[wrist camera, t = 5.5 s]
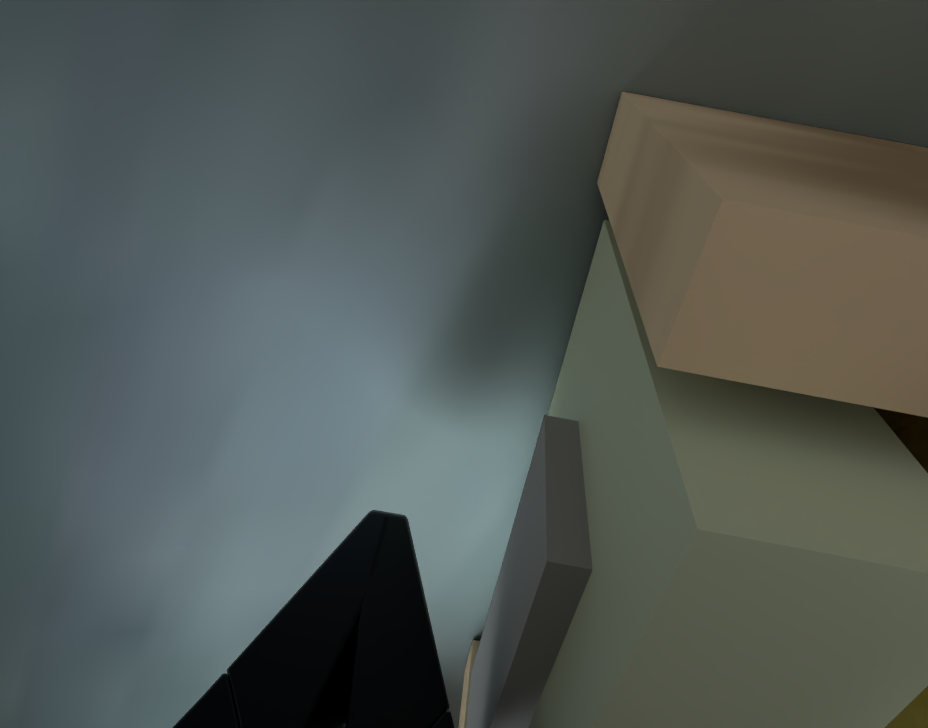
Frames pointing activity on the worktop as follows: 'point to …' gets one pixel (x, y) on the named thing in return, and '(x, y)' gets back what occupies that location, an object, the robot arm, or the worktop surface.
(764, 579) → the pale green block
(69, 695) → the worktop surface
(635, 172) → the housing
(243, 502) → the worktop surface
